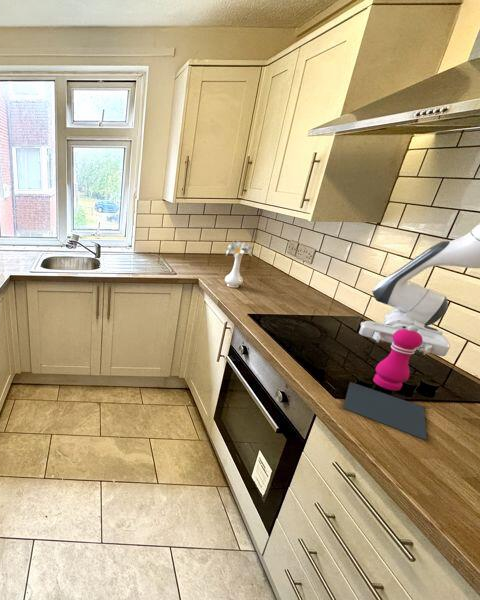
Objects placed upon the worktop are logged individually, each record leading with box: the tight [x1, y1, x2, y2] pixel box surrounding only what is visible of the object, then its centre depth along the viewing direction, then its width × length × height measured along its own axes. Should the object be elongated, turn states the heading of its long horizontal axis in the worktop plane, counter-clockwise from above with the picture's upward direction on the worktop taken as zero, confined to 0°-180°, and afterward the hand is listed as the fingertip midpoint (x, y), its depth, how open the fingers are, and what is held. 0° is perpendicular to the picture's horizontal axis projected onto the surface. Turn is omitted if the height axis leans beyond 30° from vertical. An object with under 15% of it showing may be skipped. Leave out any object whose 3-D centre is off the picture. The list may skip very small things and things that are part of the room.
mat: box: [342, 381, 428, 441], centre depth 86 cm, size 16×16×1 cm
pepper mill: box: [372, 325, 423, 392], centre depth 92 cm, size 7×7×20 cm
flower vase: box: [224, 240, 253, 289], centre depth 173 cm, size 13×18×25 cm
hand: (401, 346), depth 96 cm, fingers open, 8 cm apart
